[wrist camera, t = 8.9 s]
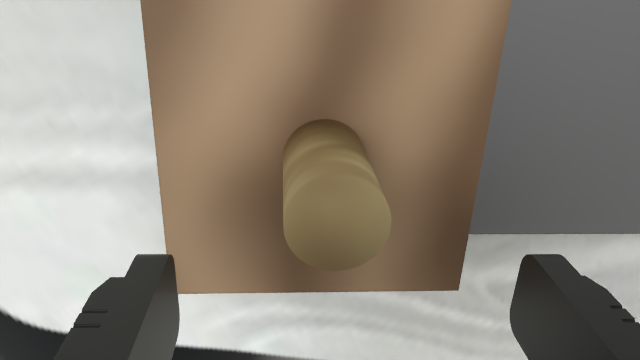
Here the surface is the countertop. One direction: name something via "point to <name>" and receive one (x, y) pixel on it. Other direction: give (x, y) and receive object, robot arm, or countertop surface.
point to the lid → (320, 139)
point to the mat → (564, 122)
